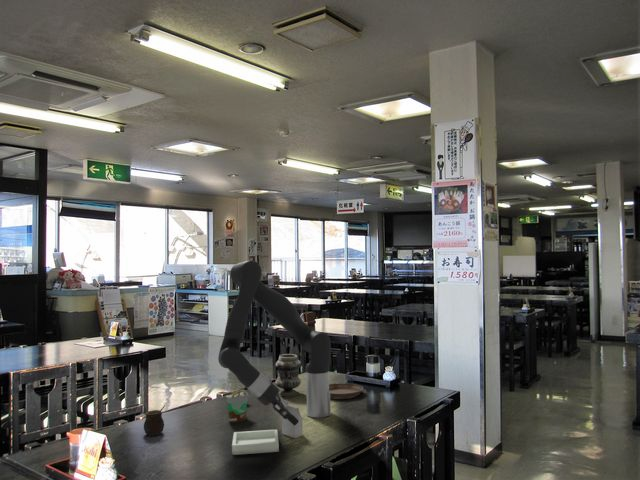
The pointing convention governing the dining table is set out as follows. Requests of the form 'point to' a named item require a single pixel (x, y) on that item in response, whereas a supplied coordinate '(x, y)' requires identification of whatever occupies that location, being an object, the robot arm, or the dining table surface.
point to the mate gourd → (154, 422)
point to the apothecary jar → (288, 374)
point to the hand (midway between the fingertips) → (296, 419)
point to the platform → (233, 393)
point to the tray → (255, 442)
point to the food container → (237, 407)
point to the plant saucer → (344, 390)
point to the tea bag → (289, 427)
